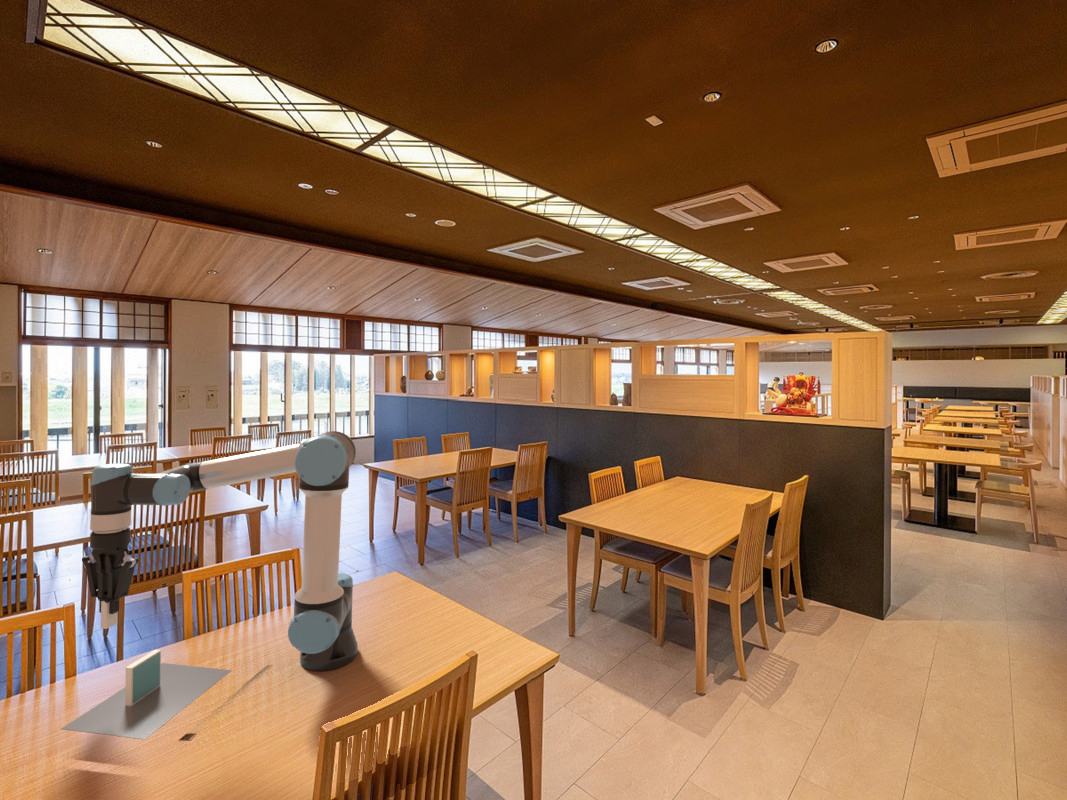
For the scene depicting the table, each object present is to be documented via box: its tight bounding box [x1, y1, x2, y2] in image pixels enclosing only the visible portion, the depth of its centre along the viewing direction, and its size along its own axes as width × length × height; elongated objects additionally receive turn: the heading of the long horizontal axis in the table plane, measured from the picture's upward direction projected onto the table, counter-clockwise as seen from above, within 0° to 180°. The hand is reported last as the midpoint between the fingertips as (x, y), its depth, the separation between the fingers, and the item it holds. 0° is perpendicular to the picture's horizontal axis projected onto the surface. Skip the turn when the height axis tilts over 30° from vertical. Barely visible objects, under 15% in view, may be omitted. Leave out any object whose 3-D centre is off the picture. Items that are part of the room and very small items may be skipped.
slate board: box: [60, 662, 233, 740], centre depth 120 cm, size 20×26×1 cm
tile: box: [124, 649, 162, 706], centre depth 121 cm, size 2×8×9 cm, turn 174°
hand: (108, 625), depth 121 cm, fingers closed
